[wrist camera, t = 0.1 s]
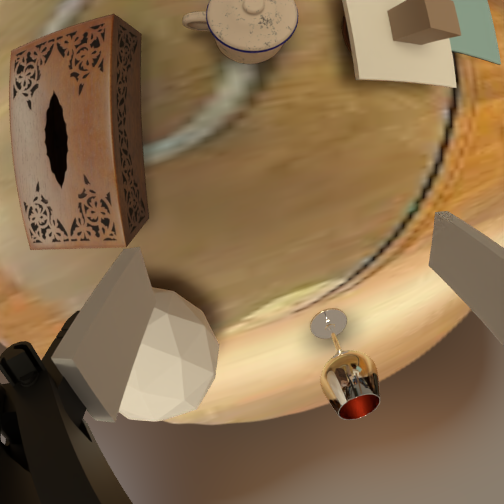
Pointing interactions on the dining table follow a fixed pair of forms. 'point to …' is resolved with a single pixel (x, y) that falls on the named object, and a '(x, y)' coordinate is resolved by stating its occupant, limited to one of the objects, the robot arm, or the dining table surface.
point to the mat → (475, 31)
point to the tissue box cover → (79, 136)
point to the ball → (171, 361)
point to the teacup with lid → (247, 27)
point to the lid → (403, 40)
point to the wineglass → (346, 371)
